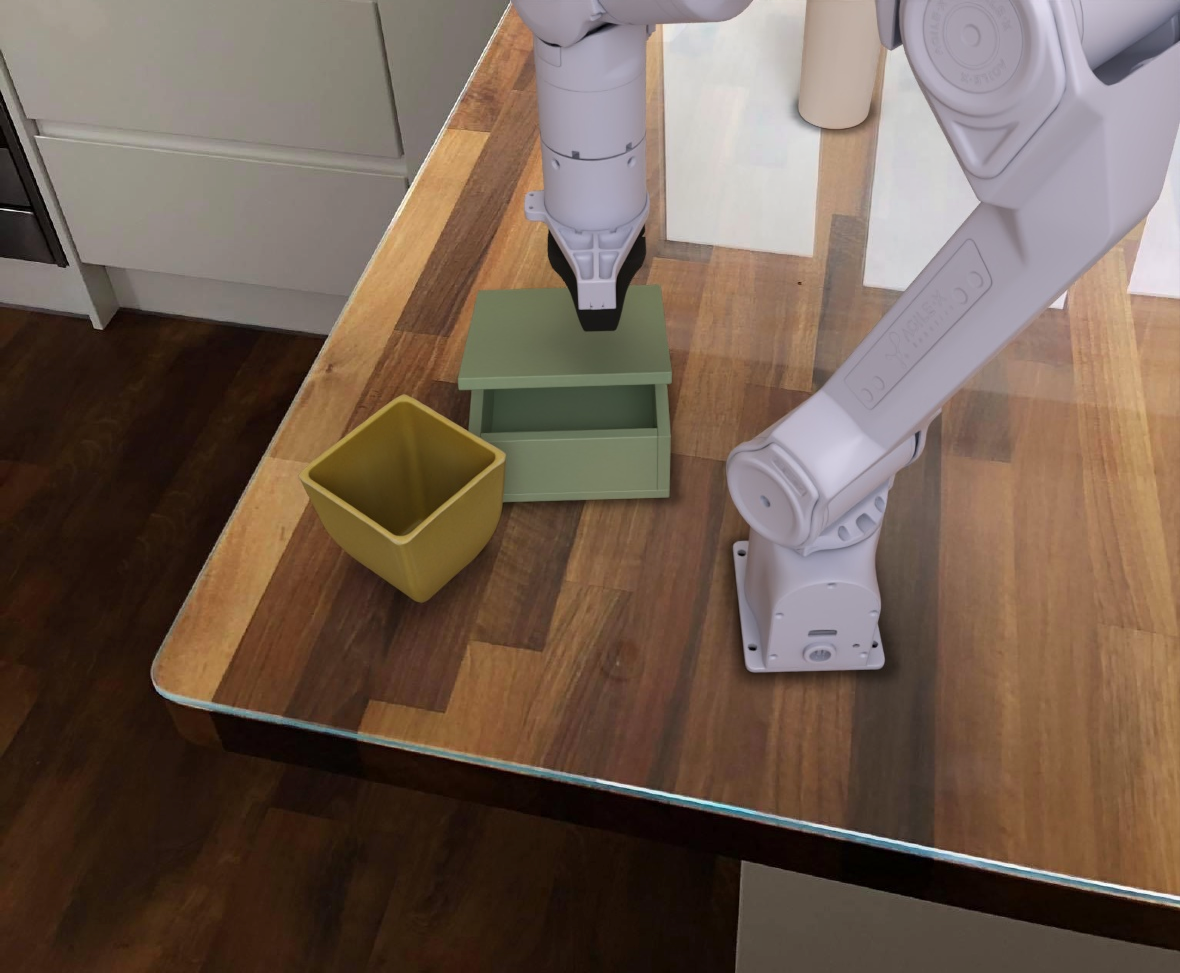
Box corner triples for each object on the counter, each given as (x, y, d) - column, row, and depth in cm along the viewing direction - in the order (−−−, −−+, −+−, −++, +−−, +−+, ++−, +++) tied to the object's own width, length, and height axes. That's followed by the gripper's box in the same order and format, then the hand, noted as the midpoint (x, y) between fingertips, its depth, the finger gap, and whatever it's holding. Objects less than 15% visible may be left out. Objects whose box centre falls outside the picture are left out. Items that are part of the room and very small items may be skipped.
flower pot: (423, 487, 81) (402, 389, 74) (521, 550, 77) (509, 452, 71) (324, 570, 77) (293, 474, 70) (424, 641, 73) (401, 546, 66)
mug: (857, 138, 106) (876, 6, 98) (784, 121, 109) (796, -9, 100) (892, 82, 112) (913, -47, 103) (822, 67, 114) (837, -61, 106)
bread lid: (672, 384, 72) (672, 371, 71) (458, 390, 72) (457, 378, 72) (660, 294, 84) (660, 283, 84) (478, 300, 85) (477, 289, 84)
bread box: (669, 497, 80) (670, 436, 75) (476, 503, 80) (467, 442, 76) (660, 356, 89) (660, 294, 84) (487, 362, 89) (478, 300, 85)
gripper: (522, 62, 70) (538, 252, 80) (513, 214, 61) (531, 408, 71) (645, 58, 70) (645, 249, 80) (655, 210, 61) (653, 405, 71)
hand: (599, 324), depth 76 cm, fingers closed
